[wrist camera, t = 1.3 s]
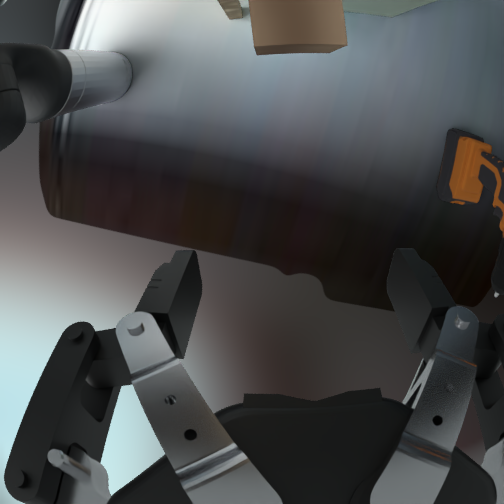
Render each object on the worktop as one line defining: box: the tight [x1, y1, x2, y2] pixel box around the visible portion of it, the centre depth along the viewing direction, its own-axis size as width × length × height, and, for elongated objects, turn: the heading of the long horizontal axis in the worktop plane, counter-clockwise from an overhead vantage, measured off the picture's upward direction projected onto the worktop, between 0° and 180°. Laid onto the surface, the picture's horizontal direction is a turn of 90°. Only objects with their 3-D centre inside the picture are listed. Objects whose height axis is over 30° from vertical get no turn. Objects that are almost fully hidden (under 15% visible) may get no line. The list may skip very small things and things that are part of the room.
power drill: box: [436, 128, 504, 297], centre depth 34 cm, size 22×7×25 cm, turn 179°
